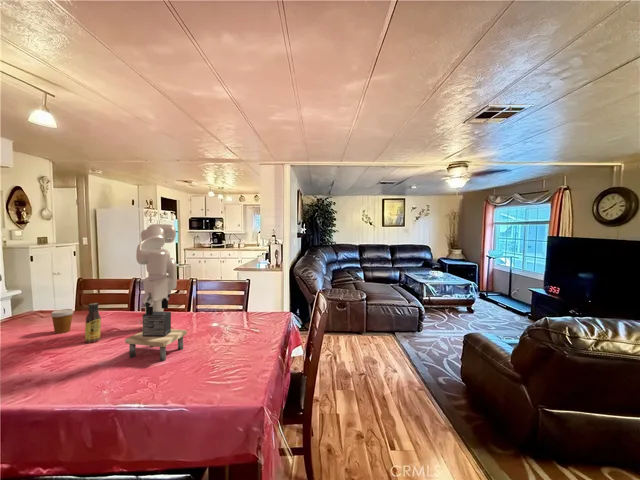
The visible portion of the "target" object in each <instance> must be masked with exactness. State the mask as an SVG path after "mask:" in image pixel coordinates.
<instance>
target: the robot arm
mask: <svg viewBox="0 0 640 480" xmlns="http://www.w3.org/2000/svg"><path fill="white" fill-rule="evenodd" d="M176 234H177V231H176V228H175V226H174V225H173V224H166V223H165V224H164V223H163V224H162V223H161V224H160V223H157V224H156V223H154V224H150V225H148V226H147V228H146V229H143V230H142V231H141V233H140V238H141V241H140V243H138V245H137V247H136V254H135V257H136V258H135V259H136V261H137V263H138V264H139V265H143V266H146V267H145V268H146V271H147V273H148V274H147V277H146V278H144V279H143V283H142V284H143V290H144V296H143V298H142V299H141V301H142V304H143V305H144V309H145V311H144V314H146V315H153V312H165V311H164V310H168V309H169V300H170V297H171V295H172V293H171V292H172V291H174V290H176V288H177V285H178V282H177V281H178V280H177V279H178V277H177V274H178V273H177V263H176V262H177V261H176V260H175V259H174V257H171V255H170V252H169V251H168V250H167V249H164V248H162V247H163V246H165V244H171V243H173V242H174V241H175V238H176V237H177V236H176ZM141 330H142V331H143V326H141Z"/></svg>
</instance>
